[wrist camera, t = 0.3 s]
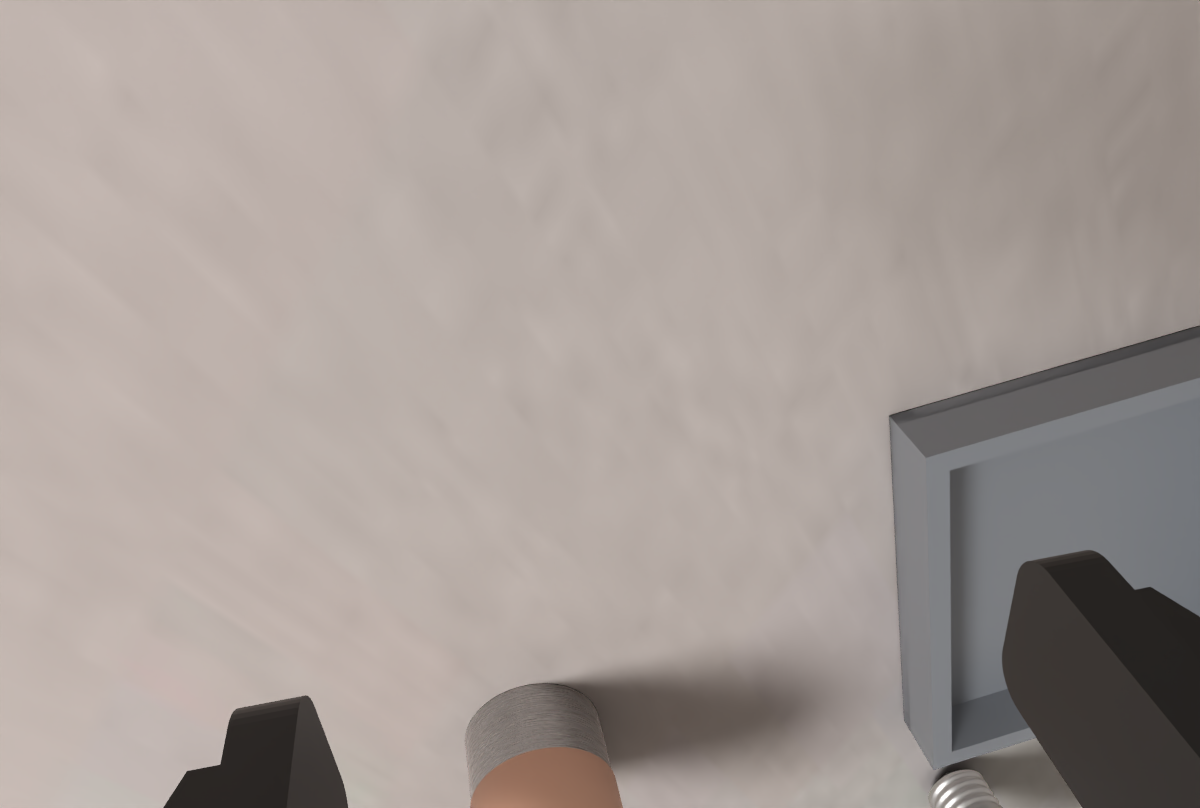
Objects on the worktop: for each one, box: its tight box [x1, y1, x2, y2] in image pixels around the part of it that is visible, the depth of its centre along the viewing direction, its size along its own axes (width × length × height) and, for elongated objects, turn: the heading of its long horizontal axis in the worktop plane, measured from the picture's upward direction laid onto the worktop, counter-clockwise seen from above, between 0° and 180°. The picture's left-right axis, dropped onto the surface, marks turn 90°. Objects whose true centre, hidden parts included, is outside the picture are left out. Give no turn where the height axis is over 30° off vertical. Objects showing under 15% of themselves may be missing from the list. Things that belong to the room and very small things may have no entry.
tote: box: [889, 326, 1200, 770], centre depth 35 cm, size 16×14×6 cm
